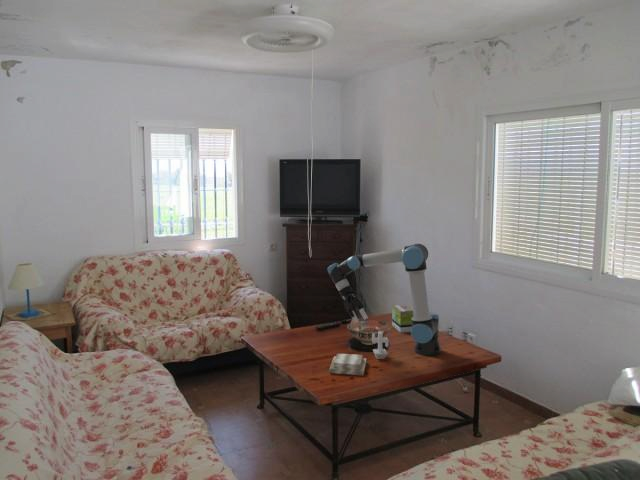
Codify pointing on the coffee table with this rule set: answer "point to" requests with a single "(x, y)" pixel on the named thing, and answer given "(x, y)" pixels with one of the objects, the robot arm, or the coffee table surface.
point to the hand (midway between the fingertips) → (361, 320)
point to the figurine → (380, 345)
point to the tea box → (402, 318)
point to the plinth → (346, 370)
